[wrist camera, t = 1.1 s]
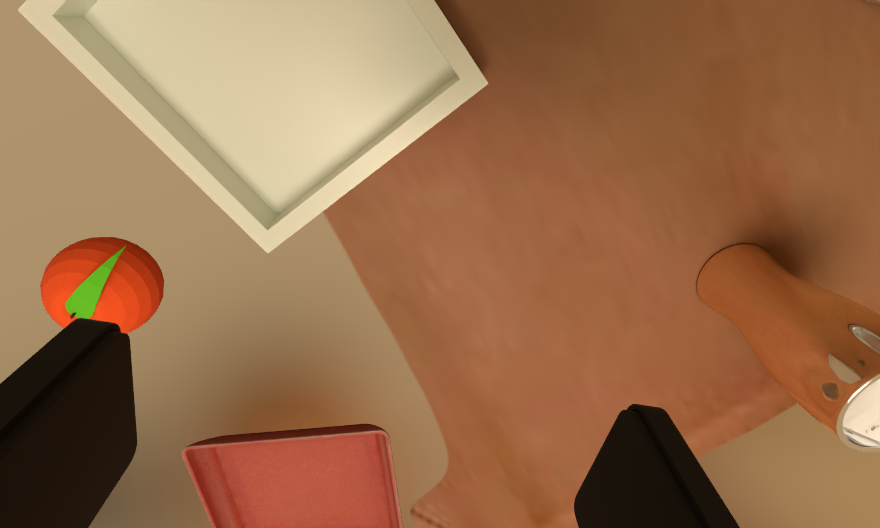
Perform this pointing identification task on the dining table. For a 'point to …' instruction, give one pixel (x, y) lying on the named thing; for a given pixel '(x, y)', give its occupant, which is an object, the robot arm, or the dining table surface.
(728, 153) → the dining table surface
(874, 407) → the beer glass
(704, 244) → the dining table surface
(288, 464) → the plant saucer
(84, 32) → the tray
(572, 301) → the dining table surface
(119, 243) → the clementine
